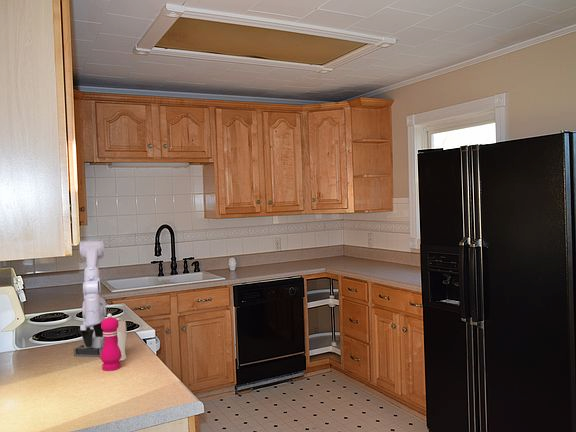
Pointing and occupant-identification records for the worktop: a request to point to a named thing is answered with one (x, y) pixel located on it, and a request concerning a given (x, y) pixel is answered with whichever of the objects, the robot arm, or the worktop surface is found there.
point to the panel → (96, 342)
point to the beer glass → (121, 337)
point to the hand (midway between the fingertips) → (93, 343)
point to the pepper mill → (110, 344)
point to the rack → (87, 351)
